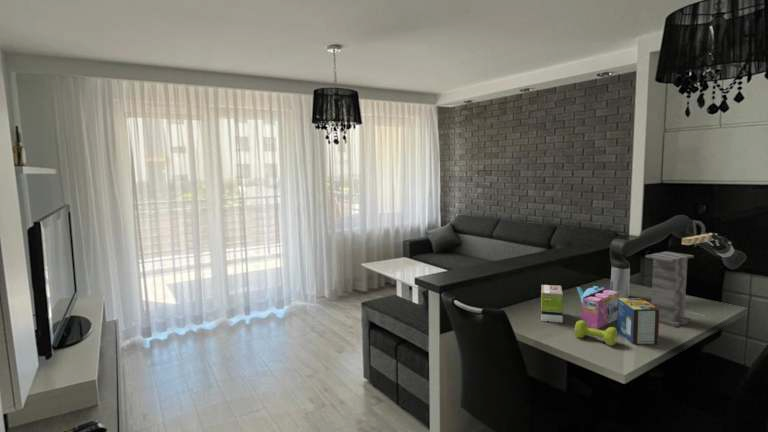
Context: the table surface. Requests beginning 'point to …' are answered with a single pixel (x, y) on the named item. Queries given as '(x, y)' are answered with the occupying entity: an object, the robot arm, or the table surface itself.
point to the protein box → (638, 321)
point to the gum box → (600, 308)
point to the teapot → (588, 291)
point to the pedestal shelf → (670, 286)
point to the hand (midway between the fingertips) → (708, 234)
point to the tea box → (551, 303)
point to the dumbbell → (596, 332)
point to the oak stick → (697, 239)
